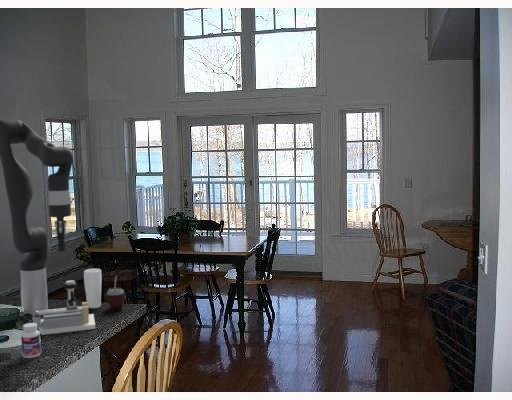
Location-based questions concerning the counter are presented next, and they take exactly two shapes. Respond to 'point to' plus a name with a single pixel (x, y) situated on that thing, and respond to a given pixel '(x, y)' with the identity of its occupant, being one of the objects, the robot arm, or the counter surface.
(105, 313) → the counter surface
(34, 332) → the pill bottle
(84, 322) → the base
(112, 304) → the mate gourd
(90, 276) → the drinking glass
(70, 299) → the push button
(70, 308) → the latch bar
